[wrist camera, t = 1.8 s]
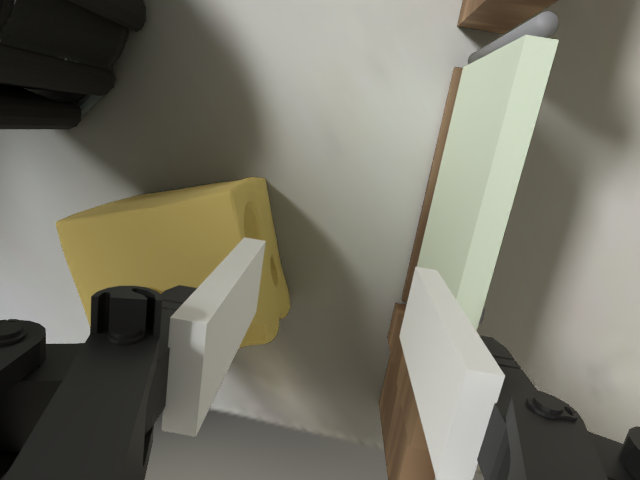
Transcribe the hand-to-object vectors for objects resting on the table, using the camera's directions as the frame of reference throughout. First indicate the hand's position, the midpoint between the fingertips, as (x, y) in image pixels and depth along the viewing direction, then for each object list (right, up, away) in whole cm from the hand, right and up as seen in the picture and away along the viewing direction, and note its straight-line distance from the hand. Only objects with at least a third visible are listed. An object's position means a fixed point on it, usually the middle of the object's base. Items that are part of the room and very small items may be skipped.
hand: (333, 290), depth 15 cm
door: (+9, +5, +15) cm, 18 cm away
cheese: (-9, +1, +18) cm, 20 cm away
